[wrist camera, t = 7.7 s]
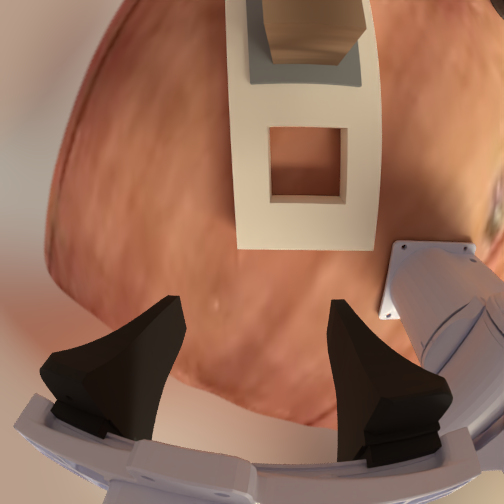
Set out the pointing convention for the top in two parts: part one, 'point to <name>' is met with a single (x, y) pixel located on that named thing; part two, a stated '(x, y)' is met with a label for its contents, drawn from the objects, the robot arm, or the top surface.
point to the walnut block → (312, 30)
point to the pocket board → (303, 115)
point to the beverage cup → (499, 6)
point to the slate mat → (293, 73)
